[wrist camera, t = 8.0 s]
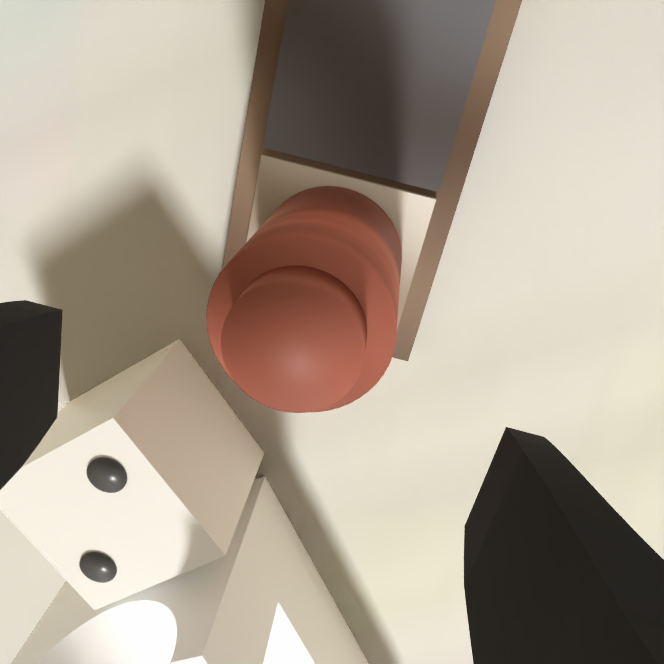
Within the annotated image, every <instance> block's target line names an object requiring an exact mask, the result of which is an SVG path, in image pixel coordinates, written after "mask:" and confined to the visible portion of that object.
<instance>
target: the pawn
mask: <svg viewBox="0 0 664 664" xmlns="http://www.w3.org/2000/svg"><path fill="white" fill-rule="evenodd" d="M401 264H402V250H401V244H400V239H399V236H398V233H397V231H396V229H395V227H394V225H393V223H392V221H391V220H390V218H389V217H388V215H387V214H386V213H385V212H384V211H383V209H382V208H381V207H380V206H379V205H377V204H376V203H375V202H374V201H373V200H371V199H370V198H368V197H366V196H365V195H363V194H361V193H359V192H357V191H354V190H351V189H348V188H343V187H338V186H320V187H314V188H309V189H306V190H304V191H301V192H299V193H297V194H295V195H293V196H291V197H290V198H288V199H287V200H286V201H284V202H283V203H282V204H281V205H280V206H279V207H278V208H277V209H276V210H275V211H274V212H273V213H272V215H271V216H270V217H269V218H268V219H267V220H266V221H265V222H264V224H263V225H262V226H261V227H260V228H259V229H258V230H257V231H256V232H255V234H254V235H253V236H252V237H251V238H250V239H249V240H248V241H247V242H246V244H245V245H244V246H243V247H242V248H241V249H240V250H239V251H238V253H237V254H236V255H235V256H234V257H233V258H232V259H231V260H230V261H229V263H228V264H227V265H226V266H225V267H224V269H223V270H222V271H221V273H220V274H219V276H218V277H217V279H216V281H215V283H214V285H213V288H212V290H211V293H210V296H209V300H208V305H207V330H208V335H209V340H210V342H211V345H212V348H213V351H214V353H215V355H216V357H217V359H218V361H219V363H220V364H221V366H222V367H223V369H224V370H225V371H226V373H227V374H228V375H229V376H230V377H231V379H232V380H233V381H234V382H235V383H236V384H237V385H238V386H239V387H240V388H241V389H242V390H243V391H244V392H245V393H246V394H247V395H249V396H250V397H251V398H253V399H254V400H256V401H258V402H259V403H261V404H263V405H265V406H267V407H270V408H273V409H276V410H280V411H285V412H293V413H305V412H321V411H328V410H332V409H336V408H339V407H342V406H344V405H347V404H349V403H351V402H353V401H355V400H357V399H358V398H360V397H361V396H363V395H364V394H365V393H367V392H368V391H369V390H370V389H371V388H372V387H373V386H374V385H375V384H376V383H377V382H378V381H379V380H380V378H381V377H382V376H383V374H384V373H385V371H386V369H387V367H388V366H389V364H390V361H391V358H392V356H393V353H394V348H395V344H396V333H397V319H398V305H399V292H400V278H401Z"/></svg>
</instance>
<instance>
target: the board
mask: <svg viewBox="0 0 664 664" xmlns="http://www.w3.org/2000/svg"><path fill="white" fill-rule="evenodd" d="M521 2H522V0H265V6H264V12H263V18H262V25H261V31H260V37H259V43H258V50H257V56H256V62H255V68H254V75H253V81H252V87H251V93H250V99H249V106H248V112H247V118H246V124H245V131H244V137H243V143H242V149H241V156H240V162H239V168H238V174H237V181H236V187H235V193H234V199H233V206H232V212H231V218H230V224H229V231H228V237H227V243H226V249H225V255H224V262H223V268H222V270H223V269H224V267H225V266H226V265H227V264H228V263H229V261H230V260H231V259H232V258H233V257H234V256H235V255H236V254H237V253H238V251H239V250H240V249H241V248H242V247H243V246H244V245H245V244H246V242H247V241H248V240H249V239H250V238H251V237H252V236H253V235H254V234H255V232H256V231H257V230H258V229H259V228H260V227H261V226H262V225H263V224H264V222H265V221H266V220H267V219H268V218H269V217H270V216H271V215H272V213H273V212H274V211H275V210H276V209H277V208H278V207H279V206H280V205H281V204H282V203H283V202H284V201H286V200H287V199H288V198H290V197H291V196H293V195H295V194H297V193H299V192H301V191H304V190H306V189H309V188H314V187H320V186H338V187H343V188H348V189H351V190H354V191H357V192H359V193H361V194H363V195H365V196H366V197H368V198H370V199H371V200H373V201H374V202H375V203H376V204H377V205H379V206H380V207H381V208H382V209H383V211H384V212H385V213H386V214H387V215H388V217H389V218H390V220H391V221H392V223H393V225H394V227H395V229H396V231H397V233H398V236H399V239H400V244H401V250H402V264H401V278H400V292H399V305H398V319H397V333H396V344H395V348H394V353H393V356H392V357H394V358H397V359H401V360H405V361H408V359H409V356H410V353H411V350H412V347H413V344H414V340H415V337H416V334H417V331H418V328H419V325H420V321H421V318H422V315H423V312H424V309H425V306H426V302H427V299H428V296H429V293H430V290H431V287H432V283H433V280H434V277H435V274H436V271H437V268H438V264H439V261H440V258H441V255H442V252H443V249H444V245H445V242H446V239H447V236H448V233H449V230H450V227H451V223H452V220H453V217H454V214H455V211H456V208H457V204H458V201H459V198H460V195H461V192H462V189H463V185H464V182H465V179H466V176H467V173H468V170H469V166H470V163H471V160H472V157H473V154H474V151H475V147H476V144H477V141H478V138H479V135H480V132H481V128H482V125H483V122H484V119H485V116H486V113H487V109H488V106H489V103H490V100H491V97H492V94H493V91H494V87H495V84H496V81H497V78H498V75H499V72H500V68H501V65H502V62H503V59H504V56H505V53H506V49H507V46H508V43H509V40H510V37H511V34H512V30H513V27H514V24H515V21H516V18H517V15H518V11H519V8H520V5H521Z"/></svg>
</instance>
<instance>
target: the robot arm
mask: <svg viewBox="0 0 664 664" xmlns="http://www.w3.org/2000/svg"><path fill="white" fill-rule="evenodd" d="M61 328H62V310H60V309H56V308H53V307H49V306H45V305H41V304H37V303H34V302H30V301H26V300H24V301H12V302H5V303H0V490H1V489H2V488H3V487H4V486H5V485H6V484H7V483H8V481H9V480H10V479H11V478H12V477H13V476H14V475H15V474H16V473H17V472H18V471H19V470H20V468H21V467H22V466H23V465H24V464H25V462H26V461H27V460H28V458H29V457H30V455H31V454H32V453H33V451H34V450H35V449H36V447H37V446H38V445H39V443H40V442H41V440H42V439H43V437H44V436H45V435H46V433H47V432H48V430H49V429H50V427H51V426H52V424H53V423H54V421H55V420H56V419H57V411H58V390H59V370H60V349H61ZM464 588H465V597H466V606H467V614H468V623H469V631H470V639H471V647H472V654H473V662H474V664H664V560H663V559H662V558H661V557H660V556H659V555H658V554H657V553H656V552H655V551H654V550H653V549H652V548H651V547H650V546H649V545H648V544H647V543H646V542H645V541H644V540H643V539H642V538H641V537H640V536H639V535H638V534H637V533H636V532H635V531H634V530H633V529H632V528H631V527H630V526H629V524H628V523H627V522H626V521H625V520H624V519H623V518H622V517H621V516H620V515H619V514H618V513H617V512H616V511H615V510H614V509H613V508H612V507H611V505H610V504H609V503H608V502H607V501H606V500H605V499H604V498H603V497H602V496H601V495H600V494H599V493H598V492H597V490H596V489H595V488H594V487H593V486H592V485H591V484H590V483H589V482H588V481H587V480H586V479H585V477H584V476H583V475H582V474H581V473H580V472H579V471H578V470H577V469H576V468H575V467H574V466H573V465H572V464H571V462H570V461H569V460H568V459H567V458H566V457H565V456H564V455H563V454H562V453H561V452H560V451H559V450H558V449H557V448H556V447H555V446H554V445H553V444H552V443H551V442H549V441H548V440H547V439H546V438H545V437H542V436H538V435H534V434H530V433H527V432H523V431H519V430H515V429H512V428H508V427H506V429H505V431H504V433H503V436H502V438H501V441H500V443H499V445H498V448H497V450H496V453H495V455H494V457H493V460H492V462H491V465H490V467H489V469H488V472H487V474H486V477H485V479H484V481H483V484H482V486H481V489H480V491H479V493H478V496H477V498H476V500H475V503H474V505H473V508H472V510H471V512H470V515H469V517H468V520H467V522H466V524H465V538H464Z"/></svg>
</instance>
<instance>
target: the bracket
mask: <svg viewBox="0 0 664 664" xmlns="http://www.w3.org/2000/svg"><path fill="white" fill-rule="evenodd" d="M11 664H369V663H368V661H367V659H366V658H365V656H364V654H363V652H362V650H361V649H360V647H359V645H358V643H357V641H356V640H355V638H354V636H353V634H352V632H351V631H350V629H349V627H348V625H347V623H346V622H345V620H344V618H343V616H342V614H341V612H340V611H339V609H338V607H337V605H336V603H335V602H334V600H333V598H332V596H331V594H330V593H329V591H328V589H327V587H326V585H325V584H324V582H323V580H322V578H321V576H320V575H319V573H318V571H317V569H316V567H315V566H314V564H313V562H312V560H311V558H310V557H309V555H308V553H307V551H306V549H305V548H304V546H303V544H302V542H301V540H300V539H299V537H298V535H297V533H296V531H295V530H294V528H293V526H292V524H291V522H290V521H289V519H288V517H287V515H286V513H285V512H284V510H283V508H282V506H281V504H280V503H279V501H278V499H277V497H276V495H275V494H274V492H273V490H272V488H271V486H270V485H269V483H268V481H267V479H266V477H262V478H258V479H255V480H254V482H253V484H252V487H251V490H250V492H249V495H248V497H247V500H246V503H245V505H244V508H243V511H242V513H241V516H240V518H239V521H238V524H237V526H236V529H235V532H234V534H233V537H232V540H231V542H230V545H229V547H228V550H227V553H226V555H225V556H223V557H221V558H218V559H216V560H214V561H211V562H209V563H206V564H204V565H202V566H199V567H197V568H194V569H192V570H190V571H187V572H185V573H183V574H180V575H178V576H175V577H173V578H171V579H168V580H166V581H163V582H161V583H159V584H156V585H154V586H152V587H149V588H147V589H144V590H142V591H140V592H137V593H135V594H132V595H130V596H128V597H125V598H123V599H121V600H118V601H116V602H113V603H111V604H109V605H106V606H104V607H101V608H99V609H97V610H94V609H93V608H92V607H91V606H90V605H89V604H88V603H87V602H86V601H85V600H84V599H83V598H82V597H81V596H80V594H79V593H78V592H77V591H76V590H75V589H74V588H73V587H72V586H71V585H70V584H69V583H68V582H67V581H66V582H65V583H64V585H63V586H62V588H61V589H60V591H59V592H58V594H57V595H56V597H55V598H54V600H53V601H52V603H51V604H50V606H49V607H48V609H47V610H46V612H45V613H44V615H43V616H42V618H41V619H40V621H39V622H38V624H37V625H36V627H35V628H34V630H33V631H32V633H31V634H30V636H29V637H28V639H27V640H26V642H25V644H24V645H23V647H22V648H21V650H20V651H19V653H18V654H17V656H16V657H15V659H14V660H13V662H12V663H11Z"/></svg>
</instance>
